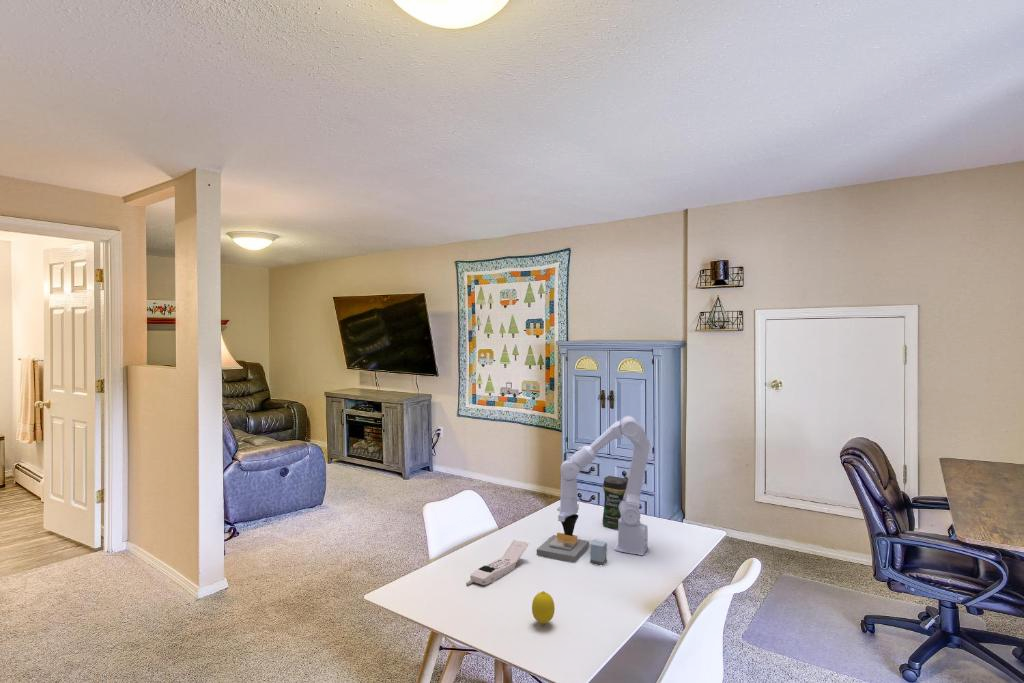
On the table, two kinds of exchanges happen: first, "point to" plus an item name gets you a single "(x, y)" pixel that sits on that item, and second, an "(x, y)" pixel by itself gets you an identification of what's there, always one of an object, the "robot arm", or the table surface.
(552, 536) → the socket far rim
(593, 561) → the plug
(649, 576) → the table surface
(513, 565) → the mobile phone
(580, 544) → the socket near rim
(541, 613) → the lemon
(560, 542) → the panel
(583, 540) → the socket front rim
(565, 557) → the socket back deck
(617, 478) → the coffee jar
